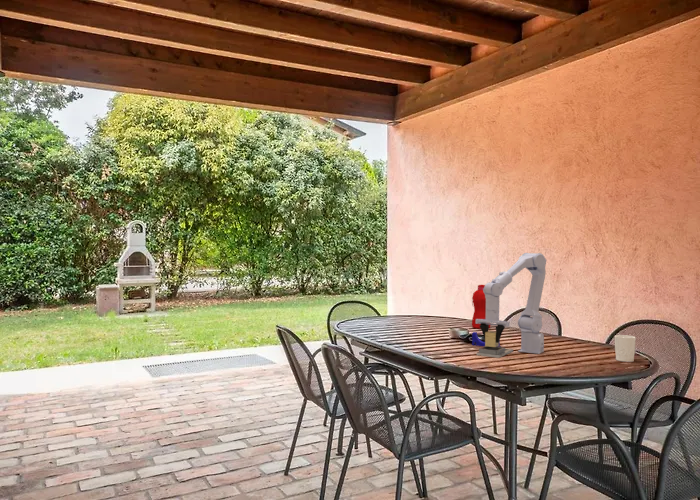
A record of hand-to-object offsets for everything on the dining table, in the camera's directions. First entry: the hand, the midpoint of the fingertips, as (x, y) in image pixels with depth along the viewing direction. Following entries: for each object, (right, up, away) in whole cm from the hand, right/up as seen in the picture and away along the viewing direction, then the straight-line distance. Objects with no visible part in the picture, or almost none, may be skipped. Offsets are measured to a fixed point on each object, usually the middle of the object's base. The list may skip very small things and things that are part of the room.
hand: (491, 341), depth 244 cm
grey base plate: (+2, -6, +3) cm, 7 cm away
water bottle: (+13, -5, +80) cm, 81 cm away
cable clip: (+3, -6, +23) cm, 23 cm away
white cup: (+53, -7, -9) cm, 54 cm away
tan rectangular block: (0, -2, 0) cm, 2 cm away
